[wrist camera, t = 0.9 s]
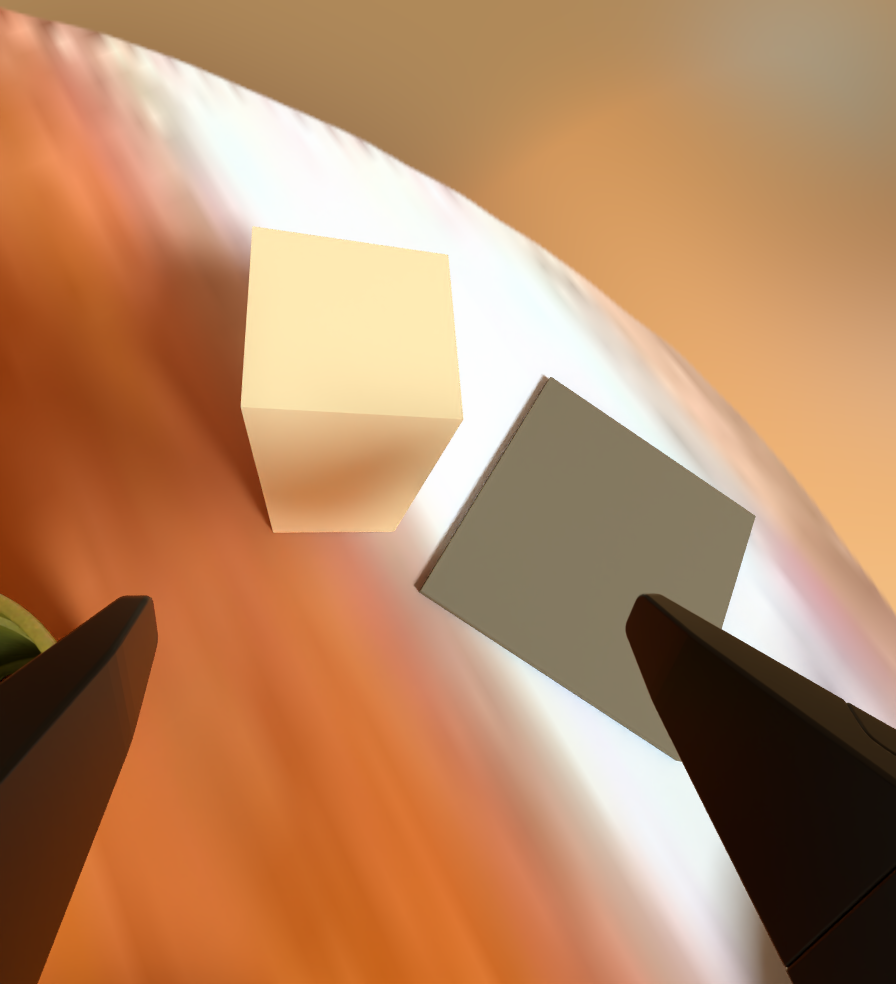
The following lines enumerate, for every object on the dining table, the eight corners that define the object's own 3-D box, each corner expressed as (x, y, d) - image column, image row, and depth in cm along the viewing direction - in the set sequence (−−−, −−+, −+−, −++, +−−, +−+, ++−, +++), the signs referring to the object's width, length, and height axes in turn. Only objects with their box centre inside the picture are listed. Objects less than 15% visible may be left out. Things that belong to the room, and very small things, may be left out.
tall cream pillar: (393, 531, 24) (463, 419, 13) (273, 532, 23) (240, 407, 12) (389, 428, 26) (448, 254, 15) (277, 422, 25) (252, 226, 14)
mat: (675, 760, 24) (681, 761, 24) (419, 592, 24) (420, 591, 23) (750, 517, 30) (755, 516, 30) (547, 380, 30) (550, 376, 30)
